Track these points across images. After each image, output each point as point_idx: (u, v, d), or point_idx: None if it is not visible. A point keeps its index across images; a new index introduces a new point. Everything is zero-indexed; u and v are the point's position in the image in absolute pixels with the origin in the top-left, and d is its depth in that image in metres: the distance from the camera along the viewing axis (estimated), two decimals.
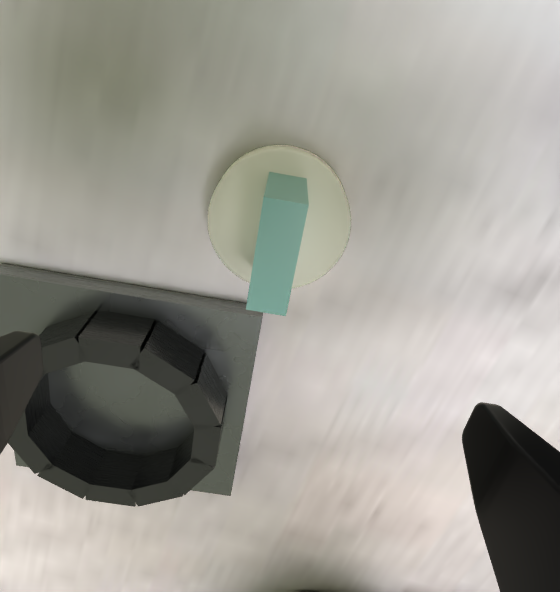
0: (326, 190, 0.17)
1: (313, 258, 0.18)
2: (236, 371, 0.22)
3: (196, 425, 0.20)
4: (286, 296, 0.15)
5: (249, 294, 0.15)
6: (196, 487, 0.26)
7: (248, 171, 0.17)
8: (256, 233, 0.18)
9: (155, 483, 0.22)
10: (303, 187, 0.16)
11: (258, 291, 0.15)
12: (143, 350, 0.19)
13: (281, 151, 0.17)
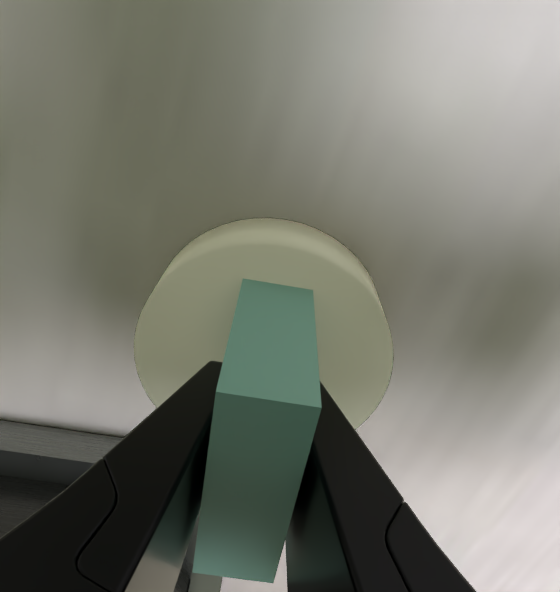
0: (350, 310, 0.09)
1: None
2: None
3: None
4: (273, 555, 0.07)
5: (198, 550, 0.07)
6: None
7: (203, 278, 0.09)
8: None
9: None
10: (307, 326, 0.08)
11: (215, 547, 0.07)
12: None
13: (265, 242, 0.09)
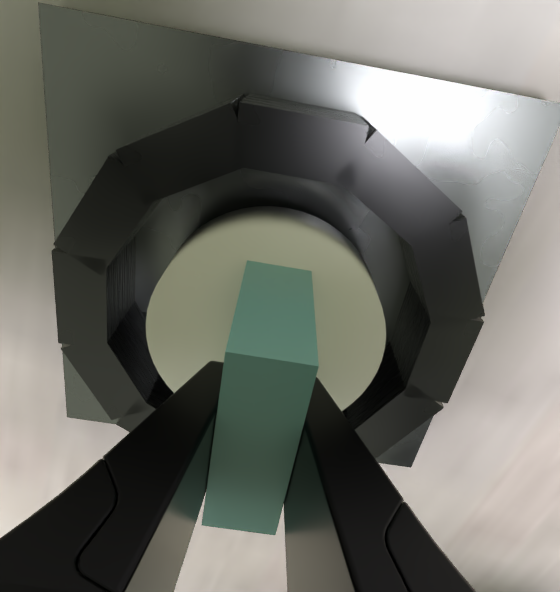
0: (345, 289, 0.10)
1: None
2: (484, 229, 0.12)
3: (436, 317, 0.11)
4: (276, 508, 0.08)
5: (207, 503, 0.08)
6: None
7: (210, 260, 0.10)
8: None
9: None
10: (306, 301, 0.08)
11: (223, 500, 0.08)
12: (373, 136, 0.09)
13: (267, 227, 0.09)
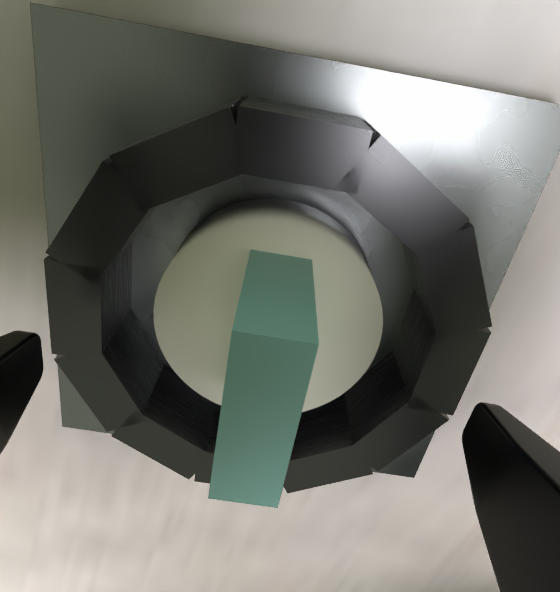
0: (344, 277, 0.10)
1: (323, 373, 0.12)
2: (491, 236, 0.12)
3: (441, 328, 0.10)
4: (278, 481, 0.09)
5: (213, 477, 0.09)
6: None
7: (216, 249, 0.10)
8: None
9: (328, 450, 0.12)
10: (307, 287, 0.09)
11: (229, 474, 0.09)
12: (377, 141, 0.08)
13: (270, 217, 0.10)
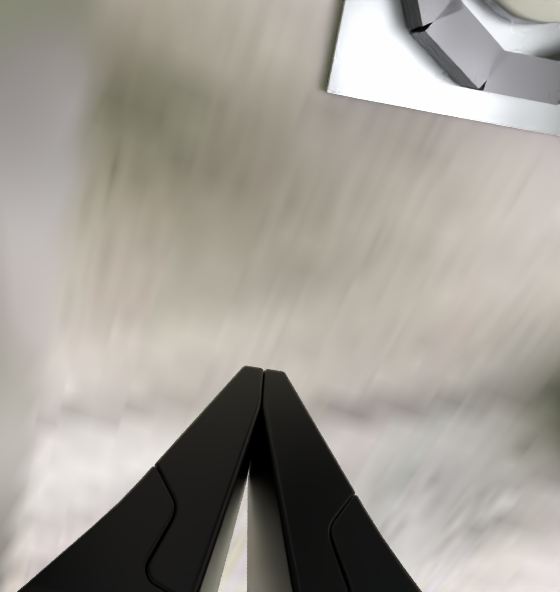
0: None
1: None
2: None
3: None
4: None
5: None
6: None
7: None
8: None
9: None
10: None
11: None
12: None
13: None
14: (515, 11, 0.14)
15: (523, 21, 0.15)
